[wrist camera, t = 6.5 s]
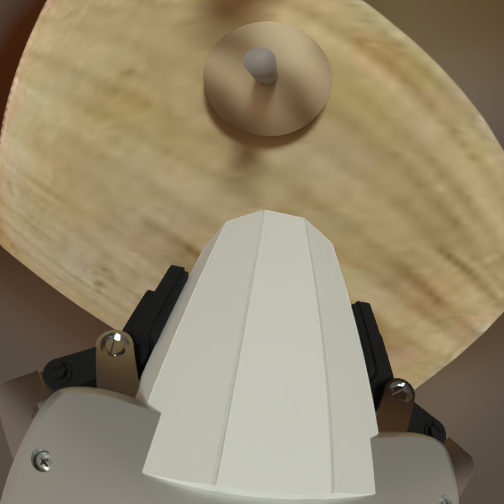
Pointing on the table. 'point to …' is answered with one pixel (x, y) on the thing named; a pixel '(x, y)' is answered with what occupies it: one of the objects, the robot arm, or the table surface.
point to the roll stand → (267, 78)
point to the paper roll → (263, 370)
